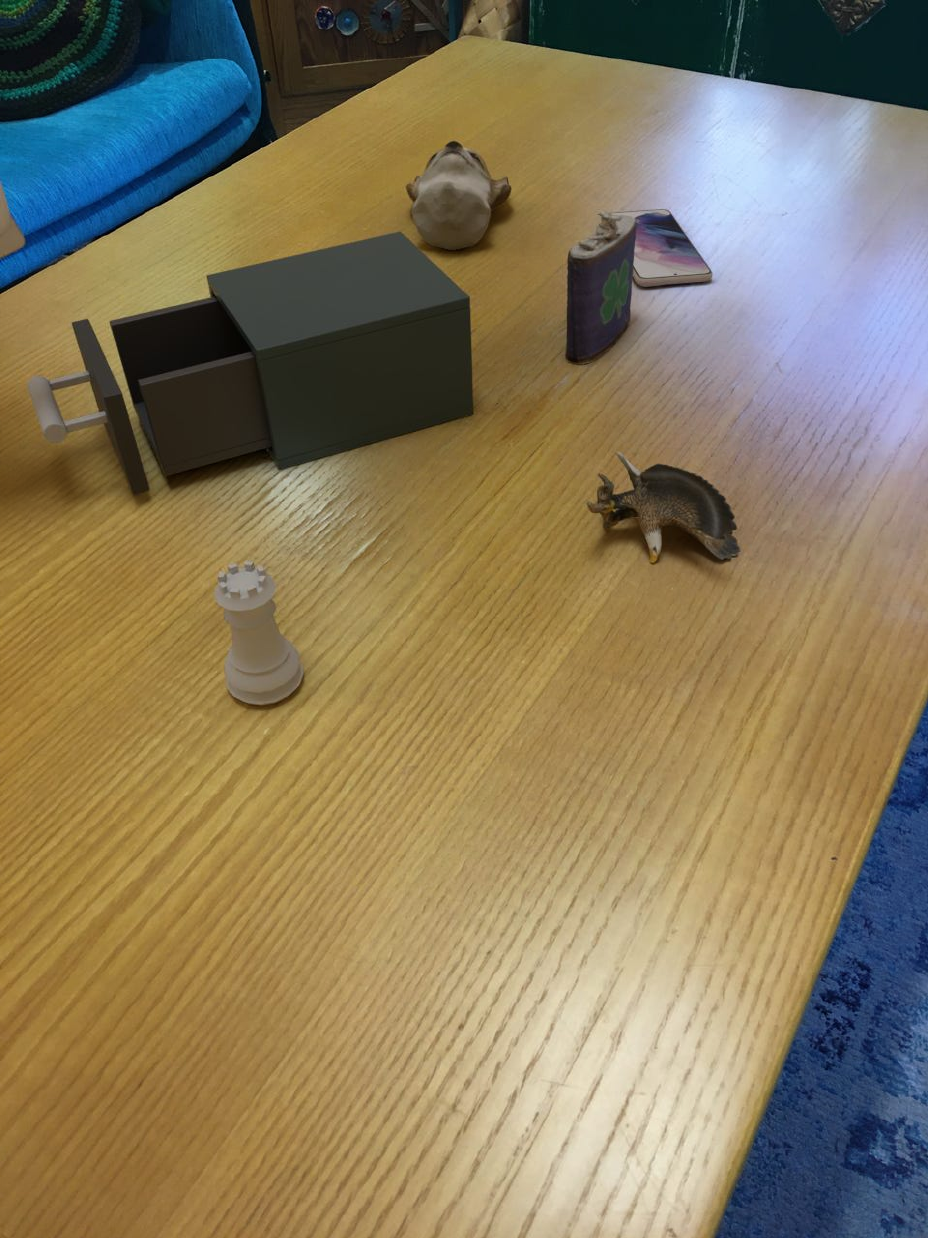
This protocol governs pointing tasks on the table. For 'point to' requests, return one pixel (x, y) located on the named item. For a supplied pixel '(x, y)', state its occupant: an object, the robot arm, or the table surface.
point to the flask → (600, 288)
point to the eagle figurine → (670, 507)
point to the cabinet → (352, 344)
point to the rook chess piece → (256, 638)
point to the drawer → (167, 389)
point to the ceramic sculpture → (455, 197)
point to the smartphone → (664, 251)
